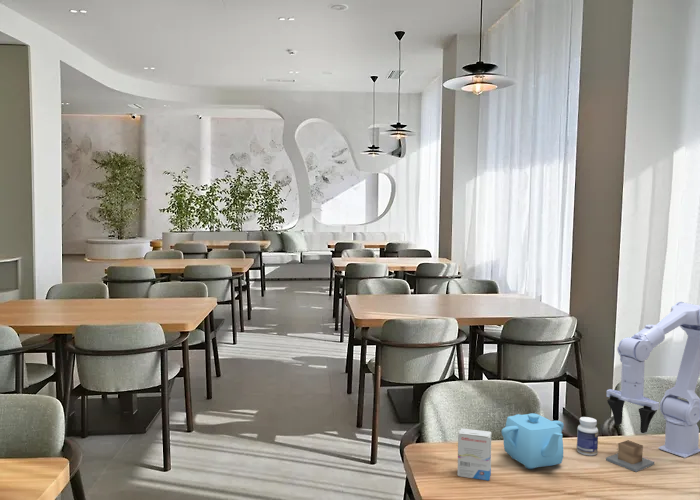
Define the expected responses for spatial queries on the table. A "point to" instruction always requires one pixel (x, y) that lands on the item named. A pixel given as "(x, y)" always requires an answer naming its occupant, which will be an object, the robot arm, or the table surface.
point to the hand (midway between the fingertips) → (630, 427)
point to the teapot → (533, 440)
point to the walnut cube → (630, 452)
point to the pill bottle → (587, 436)
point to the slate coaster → (633, 467)
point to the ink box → (474, 454)
